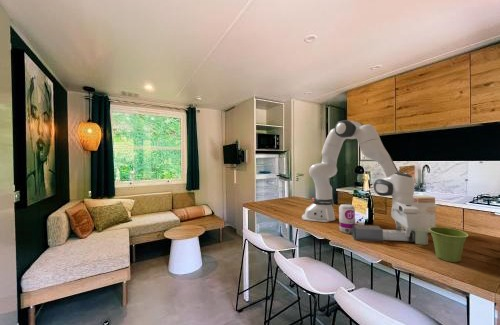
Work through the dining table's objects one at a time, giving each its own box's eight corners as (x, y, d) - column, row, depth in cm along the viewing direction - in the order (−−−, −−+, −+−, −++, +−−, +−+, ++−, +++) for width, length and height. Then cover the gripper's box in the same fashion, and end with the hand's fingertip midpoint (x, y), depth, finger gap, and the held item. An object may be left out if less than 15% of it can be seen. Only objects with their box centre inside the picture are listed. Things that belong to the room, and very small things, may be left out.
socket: (416, 244, 102) (415, 230, 102) (408, 238, 109) (408, 225, 109) (428, 244, 101) (427, 231, 101) (419, 238, 108) (419, 226, 108)
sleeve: (354, 240, 109) (354, 228, 109) (351, 235, 115) (351, 224, 115) (383, 241, 106) (382, 229, 106) (378, 236, 112) (378, 225, 112)
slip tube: (372, 240, 107) (372, 230, 107) (369, 236, 113) (369, 227, 113) (420, 242, 102) (420, 233, 102) (414, 238, 108) (414, 229, 108)
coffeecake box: (426, 228, 123) (426, 195, 122) (436, 233, 115) (435, 197, 115) (399, 228, 124) (398, 195, 124) (407, 232, 117) (406, 197, 117)
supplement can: (358, 233, 118) (357, 206, 118) (343, 234, 118) (342, 207, 118) (350, 228, 126) (350, 203, 126) (337, 229, 126) (336, 204, 126)
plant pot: (443, 265, 82) (442, 236, 82) (422, 251, 94) (422, 226, 94) (477, 266, 80) (477, 236, 80) (452, 252, 92) (452, 226, 92)
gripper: (387, 200, 117) (387, 225, 118) (405, 210, 97) (404, 239, 98) (400, 201, 116) (400, 226, 116) (421, 210, 96) (420, 240, 96)
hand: (402, 232), depth 107 cm, fingers open, 8 cm apart
